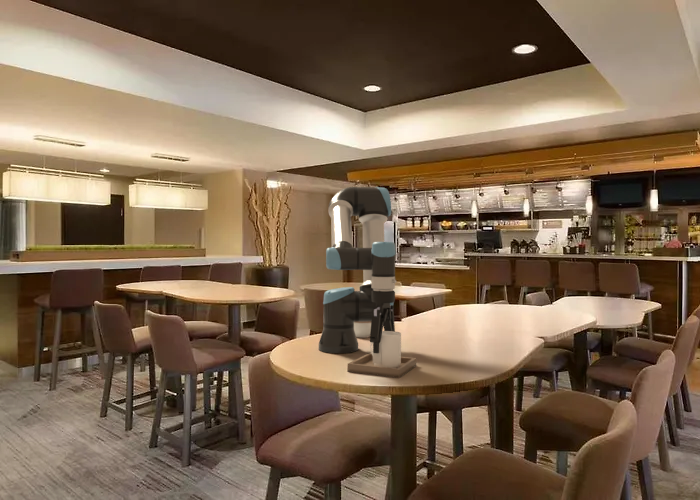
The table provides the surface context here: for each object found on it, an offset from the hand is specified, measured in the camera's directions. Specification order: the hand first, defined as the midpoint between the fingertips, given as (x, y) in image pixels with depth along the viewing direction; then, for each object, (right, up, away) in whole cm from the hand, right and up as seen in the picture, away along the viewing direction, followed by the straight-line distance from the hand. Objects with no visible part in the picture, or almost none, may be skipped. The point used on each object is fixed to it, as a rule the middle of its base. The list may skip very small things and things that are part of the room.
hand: (382, 360), depth 160 cm
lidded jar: (-5, -3, +58) cm, 59 cm away
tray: (0, -3, 0) cm, 3 cm away
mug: (0, -2, +1) cm, 2 cm away
